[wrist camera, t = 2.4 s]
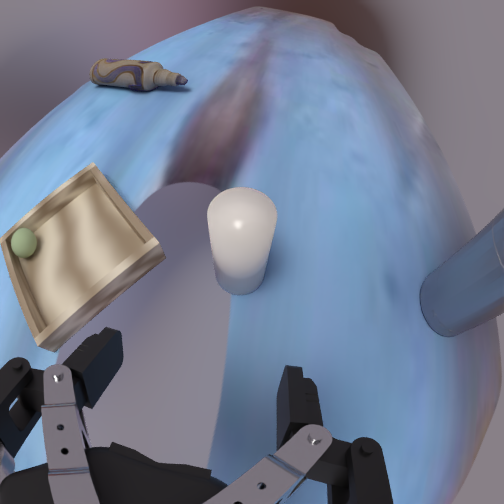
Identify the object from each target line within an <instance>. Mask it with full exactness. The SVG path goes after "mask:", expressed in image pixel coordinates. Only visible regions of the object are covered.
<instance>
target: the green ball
mask: <svg viewBox="0 0 504 504" xmlns="http://www.w3.org/2000/svg"><path fill="white" fill-rule="evenodd" d="M36 246H37V240H36V236H35V234H34V233H33V232H32V231H31V230H30V229H28V228H20V229H18V230H17V231H16V232H15V233H14V234H13V236H12V240H11V247H12V250H13V252H14V253H15V254H16V255H17V256H18V257H20V258H27V257H29V256H31V255H32V254H33V253H34V251H35V249H36Z"/></svg>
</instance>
